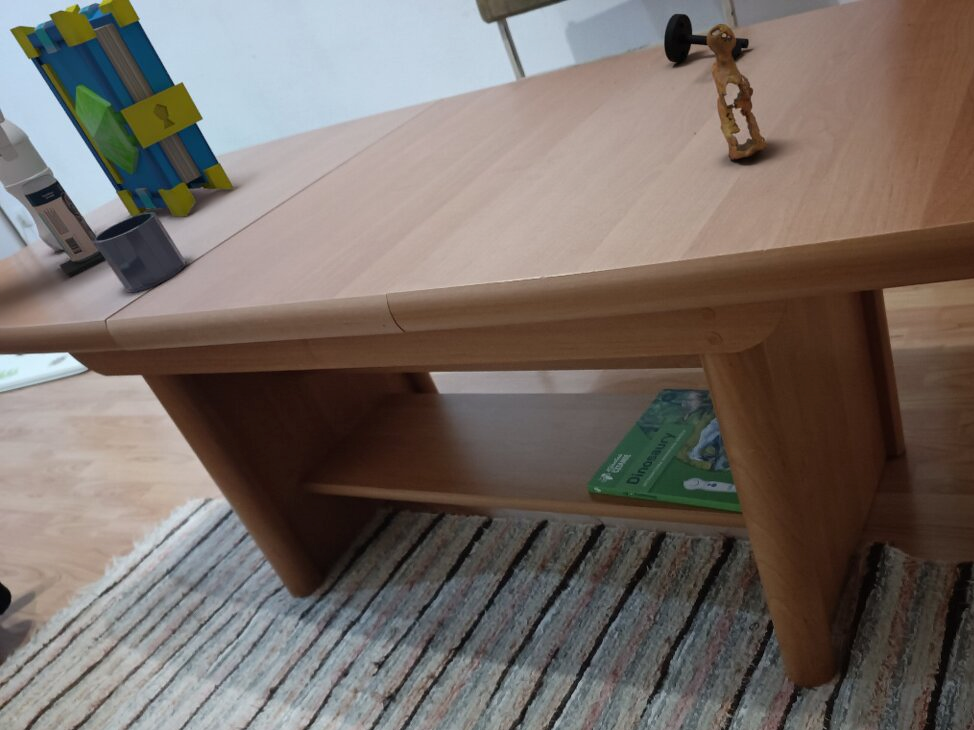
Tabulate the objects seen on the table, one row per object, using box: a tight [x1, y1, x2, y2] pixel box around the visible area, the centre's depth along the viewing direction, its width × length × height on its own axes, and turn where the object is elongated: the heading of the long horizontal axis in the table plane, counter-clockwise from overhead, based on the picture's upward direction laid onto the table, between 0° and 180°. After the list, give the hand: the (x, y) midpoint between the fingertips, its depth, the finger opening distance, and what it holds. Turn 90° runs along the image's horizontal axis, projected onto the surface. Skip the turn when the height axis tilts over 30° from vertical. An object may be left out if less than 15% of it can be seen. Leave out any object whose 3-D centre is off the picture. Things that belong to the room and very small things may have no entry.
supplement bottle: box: [22, 174, 100, 262], centre depth 126 cm, size 5×5×12 cm
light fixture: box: [663, 13, 750, 73], centre depth 112 cm, size 6×11×13 cm
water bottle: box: [0, 116, 85, 252], centre depth 135 cm, size 7×7×25 cm
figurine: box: [706, 23, 768, 161], centre depth 80 cm, size 5×6×12 cm
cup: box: [92, 211, 187, 293], centre depth 110 cm, size 8×8×7 cm
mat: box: [59, 253, 105, 278], centre depth 129 cm, size 8×8×1 cm
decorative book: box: [9, 0, 235, 218], centre depth 134 cm, size 14×23×30 cm, turn 53°
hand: (9, 157), depth 120 cm, fingers open, 8 cm apart
